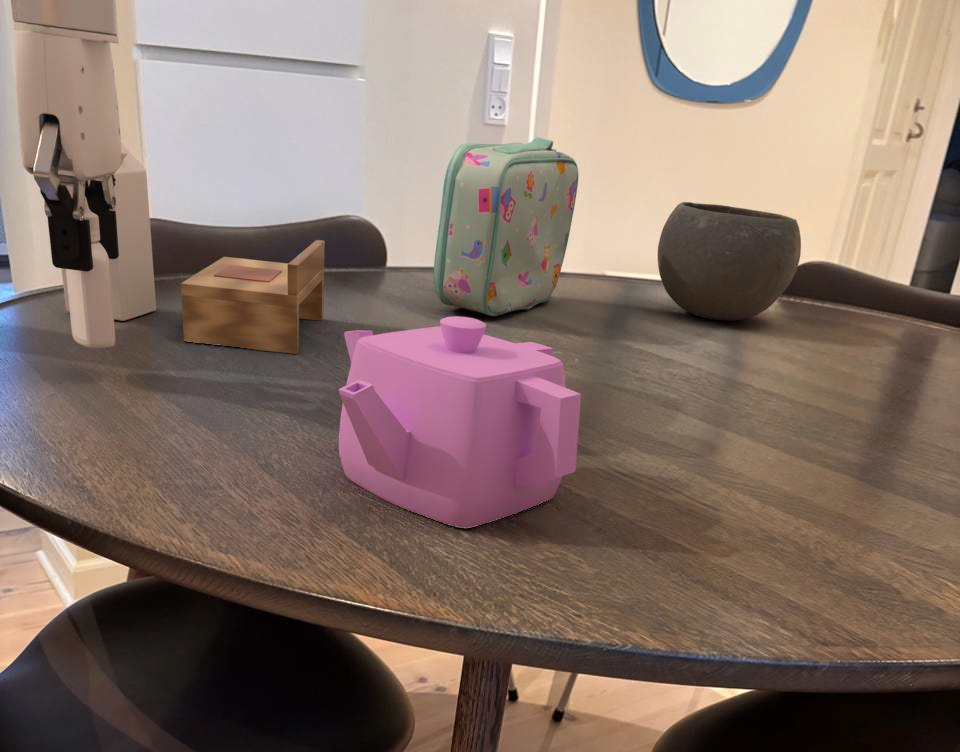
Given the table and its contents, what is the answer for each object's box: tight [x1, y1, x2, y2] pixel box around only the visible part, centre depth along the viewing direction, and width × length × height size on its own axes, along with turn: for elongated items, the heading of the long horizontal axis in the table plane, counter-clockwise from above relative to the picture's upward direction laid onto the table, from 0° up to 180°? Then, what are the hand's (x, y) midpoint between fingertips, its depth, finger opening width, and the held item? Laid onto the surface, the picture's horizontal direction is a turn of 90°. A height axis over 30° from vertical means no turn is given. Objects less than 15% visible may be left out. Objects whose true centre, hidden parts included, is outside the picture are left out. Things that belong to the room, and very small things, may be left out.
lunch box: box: [433, 136, 579, 317], centre depth 128 cm, size 27×10×21 cm, turn 154°
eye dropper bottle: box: [66, 197, 116, 349], centre depth 82 cm, size 4×6×12 cm
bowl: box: [657, 201, 802, 322], centre depth 138 cm, size 20×20×15 cm
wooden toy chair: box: [180, 239, 325, 355], centre depth 105 cm, size 12×18×9 cm, turn 179°
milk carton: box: [58, 141, 157, 322], centre depth 102 cm, size 7×7×19 cm
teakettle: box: [338, 315, 582, 527], centre depth 68 cm, size 17×17×12 cm
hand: (87, 260), depth 81 cm, fingers closed on eye dropper bottle, 5 cm apart
